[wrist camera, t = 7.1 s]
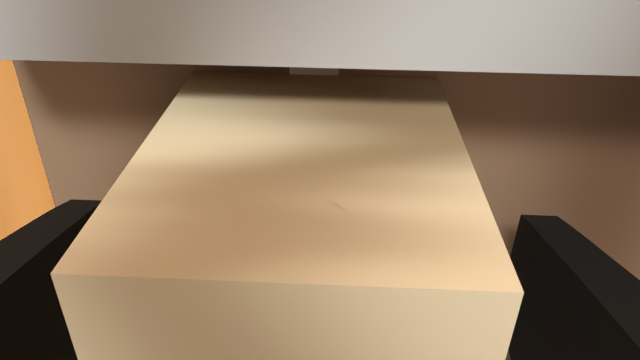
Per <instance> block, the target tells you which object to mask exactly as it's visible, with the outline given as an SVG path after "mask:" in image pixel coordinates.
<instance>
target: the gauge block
mask: <svg viewBox="0 0 640 360" xmlns="http://www.w3.org/2000/svg"><path fill="white" fill-rule="evenodd" d="M50 274H51V277H52V281H53V284H54V287H55V290H56V293H57V296H58V299H59V302H60V305H61V309H62V312H63V315H64V318H65V321H66V324H67V327H68V330H69V333H70V337H71V340H72V343H73V346H74V349H75V352H76V355H77V358H78V360H505V359H506V355H507V352H508V348H509V345H510V341H511V338H512V334H513V330H514V327H515V323H516V320H517V316H518V313H519V309H520V305H521V302H522V298H523V295H524V291H523V289H522V286H521V284H520V281H519V279H518V276H517V274H516V271H515V269H514V266H513V264H512V261H511V259H510V256H509V254H508V251H507V249H506V246H505V244H504V241H503V239H502V236H501V234H500V231H499V229H498V226H497V224H496V222H495V219H494V217H493V214H492V212H491V209H490V207H489V204H488V202H487V199H486V197H485V194H484V192H483V189H482V187H481V184H480V182H479V179H478V177H477V174H476V172H475V169H474V167H473V164H472V162H471V159H470V157H469V154H468V152H467V149H466V147H465V144H464V142H463V139H462V137H461V134H460V132H459V129H458V127H457V124H456V122H455V120H454V117H453V115H452V112H451V110H450V107H449V105H448V102H447V100H446V97H445V95H444V92H443V90H442V87H441V85H440V82H439V80H438V78H412V77H376V76H341V75H305V74H270V73H234V72H198V71H193V73H192V74H191V75H190V77H189V78H188V80H187V81H186V83H185V84H184V85H183V87H182V88H181V90H180V91H179V92H178V94H177V95H176V97H175V98H174V100H173V101H172V102H171V104H170V105H169V107H168V108H167V109H166V111H165V112H164V114H163V115H162V116H161V118H160V119H159V121H158V122H157V124H156V125H155V126H154V128H153V129H152V131H151V132H150V133H149V135H148V136H147V138H146V139H145V141H144V142H143V143H142V145H141V146H140V148H139V149H138V150H137V152H136V153H135V155H134V156H133V157H132V159H131V160H130V162H129V163H128V165H127V166H126V167H125V169H124V170H123V172H122V173H121V174H120V176H119V177H118V179H117V180H116V182H115V183H114V184H113V186H112V187H111V189H110V190H109V191H108V193H107V194H106V196H105V197H104V198H103V200H102V201H101V203H100V204H99V206H98V207H97V208H96V210H95V211H94V213H93V214H92V215H91V217H90V218H89V220H88V221H87V223H86V224H85V225H84V227H83V228H82V230H81V231H80V232H79V234H78V235H77V237H76V238H75V239H74V241H73V242H72V244H71V245H70V247H69V248H68V249H67V251H66V252H65V254H64V255H63V256H62V258H61V259H60V261H59V262H58V264H57V265H56V266H55V268H54V269H53V271H52V272H51V273H50Z"/></svg>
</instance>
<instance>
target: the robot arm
mask: <svg viewBox="0 0 640 360" xmlns="http://www.w3.org/2000/svg"><path fill="white" fill-rule="evenodd" d="M101 201H102V200H76V199H71V200H69V201H67V202H65V203H63V204H61V205H59V206H57V207H55V208H54V209H52V210H50V211H48V212H47V213H45V214H43V215H42V216H40V217H38V218H37V219H35V220H33V221H32V222H30V223H28V224H27V225H25V226H23V227H22V228H20V229H18V230H17V231H15V232H14V233H12V234H10V235H9V236H7V237H5V238H4V239H2V240H0V360H78V358H77V355H76V352H75V349H74V346H73V343H72V340H71V337H70V333H69V330H68V327H67V324H66V321H65V318H64V315H63V312H62V309H61V305H60V302H59V299H58V296H57V293H56V290H55V287H54V284H53V281H52V277H51V274H50V273H51V272H52V271H53V269H54V268H55V266H56V265H57V264H58V262H59V261H60V259H61V258H62V256H63V255H64V254H65V252H66V251H67V249H68V248H69V247H70V245H71V244H72V242H73V241H74V239H75V238H76V237H77V235H78V234H79V232H80V231H81V230H82V228H83V227H84V225H85V224H86V223H87V221H88V220H89V218H90V217H91V215H92V214H93V213H94V211H95V210H96V208H97V207H98V206H99V204H100V203H101ZM510 259H511V261H512V264H513V266H514V269H515V271H516V274H517V276H518V279H519V281H520V284H521V286H522V289H523V291H524V295H523V298H522V302H521V305H520V309H519V313H518V316H517V320H516V323H515V327H514V330H513V334H512V338H511V341H510V345H509V348H508V351H509V355H510V358H511V360H640V280H639V279H638V278H636V277H635V276H634V275H633V274H631V273H630V272H629V271H627V270H626V269H625V268H624V267H622V266H621V265H620V264H619V263H617V262H616V261H615V260H614V259H612V258H611V257H610V256H609V255H607V254H606V253H605V252H604V251H602V250H601V249H600V248H599V247H597V246H596V245H595V244H594V243H592V242H591V241H590V240H589V239H587V238H586V237H585V236H584V235H582V234H581V233H580V232H578V231H577V230H576V229H575V228H573V227H572V226H571V225H569V224H568V223H567V222H565V221H564V220H562V219H561V218H559V217H558V216H547V215H521V216H520V220H519V224H518V228H517V232H516V236H515V240H514V244H513V248H512V252H511V256H510Z"/></svg>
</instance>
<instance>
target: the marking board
mask: <svg viewBox="0 0 640 360" xmlns="http://www.w3.org/2000/svg"><path fill="white" fill-rule="evenodd" d="M0 60H13V63H14V67H15V70H16V74H17V77H18V80H19V84H20V87H21V91H22V94H23V97H24V101H25V104H26V108H27V111H28V115H29V118H30V121H31V125H32V128H33V132H34V135H35V138H36V142H37V145H38V149H39V152H40V156H41V159H42V162H43V166H44V169H45V173H46V176H47V179H48V183H49V186H50V190H51V193H52V197H53V200H54V203H55V207H57V206H59V205H61V204H63V203H65V202H67V201H69V200H71V199H76V200H103V198H104V197H105V196H106V194H107V193H108V191H109V190H110V189H111V187H112V186H113V184H114V183H115V182H116V180H117V179H118V177H119V176H120V174H121V173H122V172H123V170H124V169H125V167H126V166H127V165H128V163H129V162H130V160H131V159H132V157H133V156H134V155H135V153H136V152H137V150H138V149H139V148H140V146H141V145H142V143H143V142H144V141H145V139H146V138H147V136H148V135H149V133H150V132H151V131H152V129H153V128H154V126H155V125H156V124H157V122H158V121H159V119H160V118H161V116H162V115H163V114H164V112H165V111H166V109H167V108H168V107H169V105H170V104H171V102H172V101H173V100H174V98H175V97H176V95H177V94H178V92H179V91H180V90H181V88H182V87H183V85H184V84H185V83H186V81H187V80H188V78H189V77H190V75H191V74H192V73H193V71H198V72H234V73H270V74H305V75H341V76H376V77H412V78H438V80H439V82H440V85H441V87H442V90H443V92H444V95H445V97H446V100H447V102H448V105H449V107H450V110H451V112H452V115H453V117H454V120H455V122H456V124H457V127H458V129H459V132H460V134H461V137H462V139H463V142H464V144H465V147H466V149H467V152H468V154H469V157H470V159H471V162H472V164H473V167H474V169H475V172H476V174H477V177H478V179H479V182H480V184H481V187H482V189H483V192H484V194H485V197H486V199H487V202H488V204H489V207H490V209H491V212H492V214H493V217H494V219H495V222H496V224H497V226H498V229H499V231H500V234H501V236H502V239H503V241H504V244H505V246H506V249H507V251H508V254H509V256H511V252H512V248H513V244H514V240H515V236H516V232H517V228H518V224H519V220H520V216H521V215H547V216H558V217H559V218H561V219H562V220H564V221H565V222H567V223H568V224H569V225H571V226H572V227H573V228H575V229H576V230H577V231H578V232H580V233H581V234H582V235H584V236H585V237H586V238H587V239H589V240H590V241H591V242H592V243H594V244H595V245H596V246H597V247H599V248H600V249H601V250H602V251H604V252H605V253H606V254H607V255H609V256H610V257H611V258H612V259H614V260H615V261H616V262H617V263H619V264H620V265H621V266H622V267H624V268H625V269H626V270H627V271H629V272H630V273H631V274H633V275H634V276H635V277H636V278H638V279H639V280H640V0H0ZM505 360H511V358H510V355H509V351H508V352H507V355H506V359H505Z"/></svg>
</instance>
